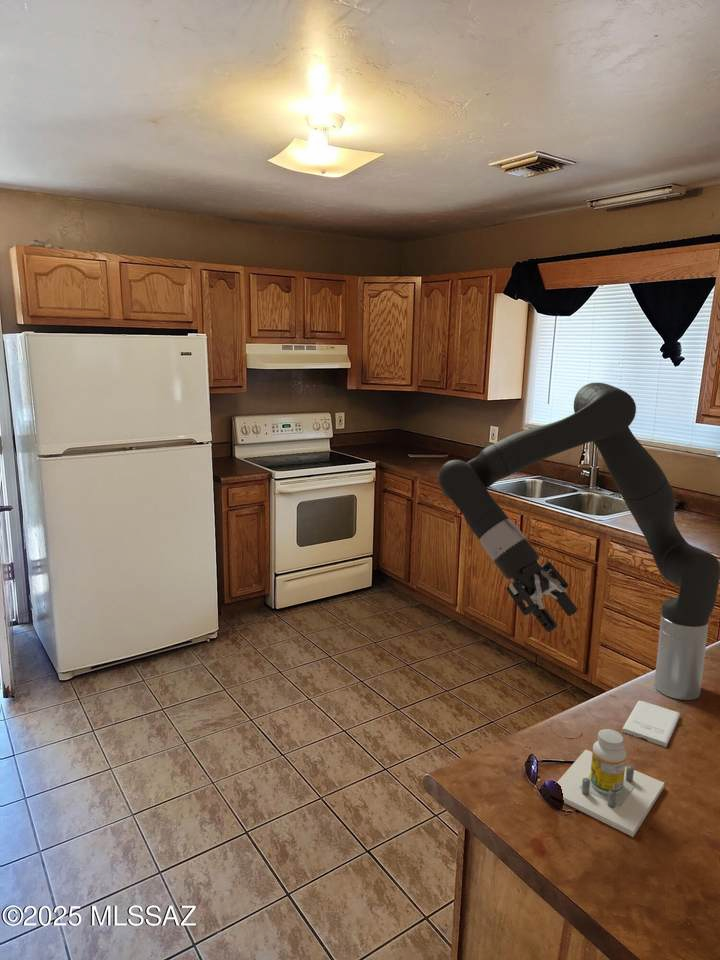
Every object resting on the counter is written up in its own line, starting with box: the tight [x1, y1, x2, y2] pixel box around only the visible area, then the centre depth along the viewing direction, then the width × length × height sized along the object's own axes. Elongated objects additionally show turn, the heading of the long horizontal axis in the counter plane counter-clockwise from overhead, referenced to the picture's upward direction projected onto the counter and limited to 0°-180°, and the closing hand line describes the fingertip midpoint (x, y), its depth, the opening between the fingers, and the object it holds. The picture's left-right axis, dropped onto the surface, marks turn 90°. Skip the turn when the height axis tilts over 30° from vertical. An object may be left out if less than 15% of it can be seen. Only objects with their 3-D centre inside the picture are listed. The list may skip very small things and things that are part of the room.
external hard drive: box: [621, 700, 681, 748], centre depth 128 cm, size 2×8×12 cm
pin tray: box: [556, 749, 665, 838], centre depth 108 cm, size 15×14×4 cm
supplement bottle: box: [590, 728, 627, 795], centre depth 107 cm, size 5×5×10 cm
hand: (563, 621), depth 114 cm, fingers open, 8 cm apart
